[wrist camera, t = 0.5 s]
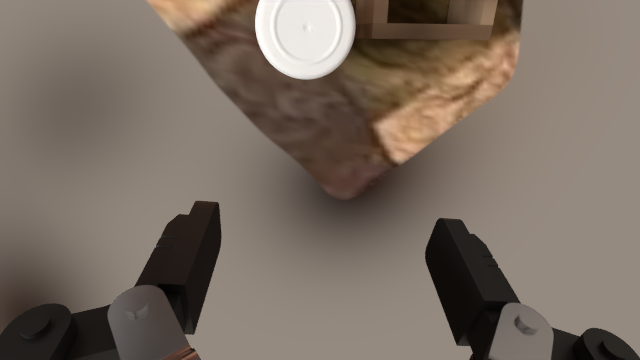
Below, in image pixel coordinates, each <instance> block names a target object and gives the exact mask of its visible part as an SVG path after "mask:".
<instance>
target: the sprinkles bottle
mask: <svg viewBox="0 0 640 360" xmlns="http://www.w3.org/2000/svg"><path fill="white" fill-rule="evenodd" d="M255 28H256V36H257V40H258V43H259V45H260V48H261V50H262V52H263V54H264V55H265V57H266V58H267V60H268V61H269V62H270V63H271V64H272V65H273V66H274V67H275V68H276V69H277V70H279V71H280V72H282V73H284V74H286V75H288V76H290V77H293V78H297V79H315V78H319V77H322V76H325V75H327V74H329V73H331V72H332V71H334V70H335V69H336V68H337V67H338V66H339V65H340V64H341V63H342V62H343V61H344V60H345V58H346V57H347V55H348V53H349V51H350V49H351V47H352V44H353V41H354V36H355V29H356V24H355V14H354V10H353V6H352V3H351V1H350V0H260V1H259V4H258V7H257V11H256V18H255Z"/></svg>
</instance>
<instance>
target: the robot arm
mask: <svg viewBox="0 0 640 360" xmlns="http://www.w3.org/2000/svg"><path fill="white" fill-rule="evenodd" d="M220 246H221V224H220V209H219V203H218V202H208V201H196V202H195V203H194V205H193V207H192V209H191V211H190V214H189V215H181V214H179V215H177V216H176V217H175V218H174V219H173V220H171V221H170V222H169V223H168V224H167V226H166V227H165V229H164V231H163V234H162V235H161V238H160V239H159V241H158V243H157V245H156V248H155V249H154V250H153V252H152V254H151V256H150V258H149V260H148V262H147V264H146V265H145V267H144V270H143V271H142V273H141V275H140V277H139V279H138V281H137V283H136V284H135V286H134V287H133V288H130V289H128V290H126V291H125V292H123V293H122V294H120V295H119V296H118V297H117V298H116V299H115V300H114V301H113V302H112V304H110V305H107V306H104V307H100V308H96V309H91V310H87V311H83V312H78V313H73V314H71V313H70V311H69V309H68V308H67V307H66V306H63V305H60V304H44V305H41V306H37V307H34V308H32V309H30V310H28V311H26V312H24V313H22V314H21V315H19V316H18V317H17V318H15V319H14V320H13V321H12V322H11V323H10V324H9V325H8V326H7V327H6V328H5V329H4V331H3V332H2V333H1V335H0V360H201V359H200V357H199V355H198V354H197V352H196V351H195V349H194V348H193V349H192V348H191V347H190V345H189V343H188V341H187V339H186V337H185V335H184V334H192V335H193V334H194V333H195V330H196V327H197V323H198V320H199V317H200V313H201V310H202V307H203V303H204V300H205V297H206V293H207V290H208V287H209V283H210V281H211V277H212V274H213V271H214V267H215V264H216V260H217V258H218V254H219V251H220ZM492 257H493V256H492V254H491V253H490V251H489V249H488V248H487V246H486V244H484V243H483V242H482V241H481V240H480V239H479V238H478V237H477V236H475V234H469V232H468V230H467V228H466V226H465V225H464V223H463V221H462V220H460V219H447V218H439V219H438V220H437V222H436V225H435V226H434V229H433V232H432V234H431V237H430V239H429V242H428V244H427V247H426V251H425V259H426V264H427V267H428V269H429V272H430V275H431V277H432V280H433V283H434V285H435V288H436V291H437V294H438V296H439V299H440V302H441V304H442V307H443V310H444V312H445V315H446V317H447V320H448V323H449V326H450V328H451V331H452V333H453V336H454V339H455V342H456V344H457V345H459V346H471V349H472V352H473V354H472V355H471V357H470V359H469V360H640V358H639V356H638V355H637V354H636V353H635V351H634V350H633V349H632V348H631V347H630V346H629V345H628V344H627V343H626V342H624V341H623V340H622V339H620V338H619V337H617V336H616V335H614V334H612V333H610V332H608V331H606V330H602V329H598V328H590V329H587V330H586V331H585V332H584V333H583V334H582V335H581V336H576V335H573V334H570V333H567V332H564V331H561V330H558V329H555V328H552V327H551V326H550V324H549V323H548V322H547V320H546V319H545V318H544V317H543V316H542V315H541V314H539V313H538V312H537V311H536V310H534V309H532V308H531V307H529V306H526V305H524V304H521V303H520V301H519V300H518V298H517V296H516V294H515V293H514V291H513V289H512V288H511V286H510V284H509V283H508V281H507V279H506V278H505V276H504V274H503V273H502V271H501V269H500V268H498V264H497V263H496V261H495V259H493V258H492Z"/></svg>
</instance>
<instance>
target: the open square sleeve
mask: <svg viewBox="0 0 640 360" xmlns="http://www.w3.org/2000/svg"><path fill="white" fill-rule="evenodd" d="M497 2H498V0H450V2H449V9H448V16H447V23H446V24H408V23H387V15H388V3H389V0H356V11H355V24H356V29H355V36H354V38H365V39H446V40H490V38H491V33H492V28H493V23H494V17H495V12H496V7H497Z"/></svg>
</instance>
